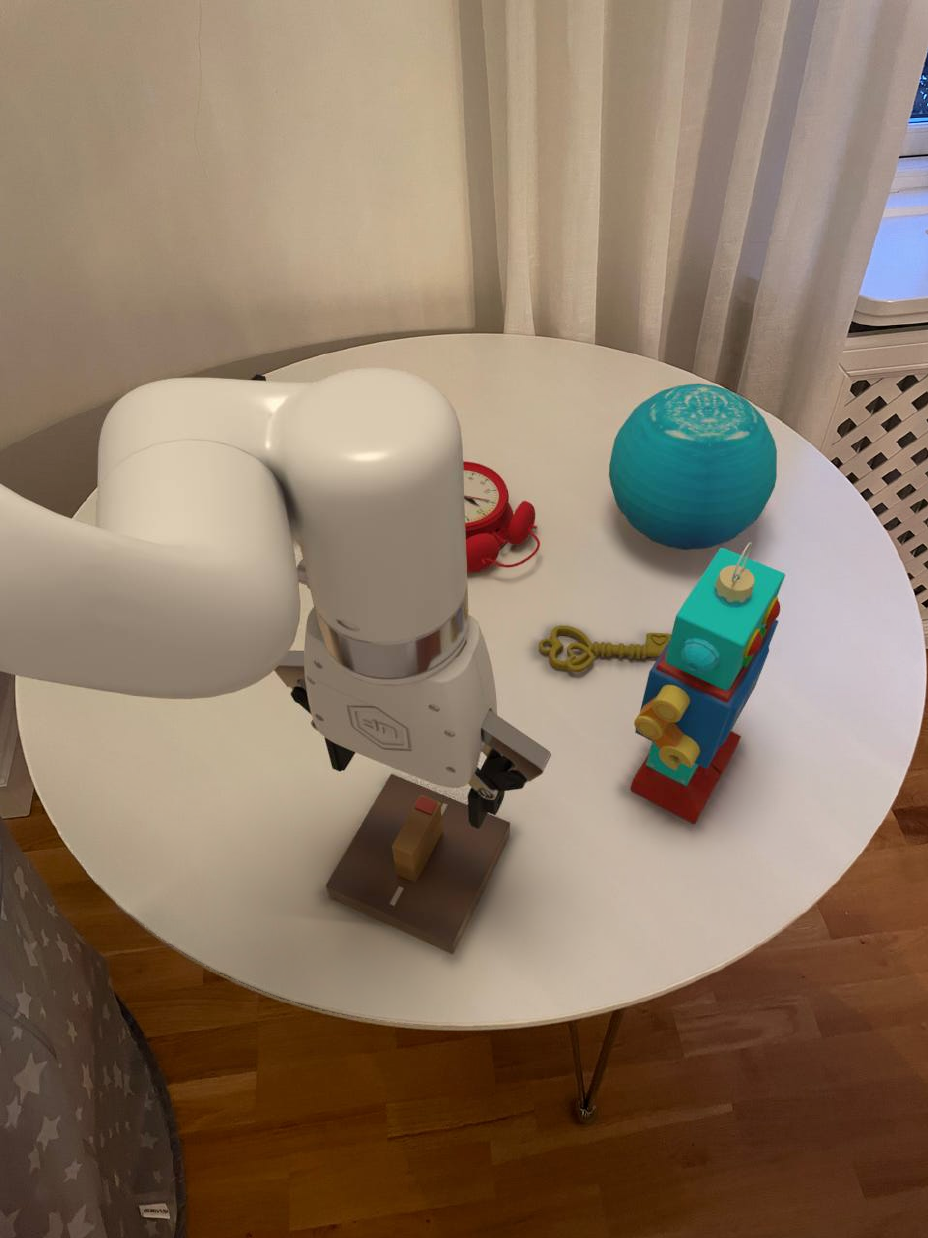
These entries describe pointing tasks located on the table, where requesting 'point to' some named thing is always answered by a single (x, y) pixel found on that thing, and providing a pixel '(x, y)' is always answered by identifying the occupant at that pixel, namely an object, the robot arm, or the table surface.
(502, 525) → the alarm clock
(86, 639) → the robot arm
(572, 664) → the key
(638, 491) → the decorative orb
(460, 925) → the plate
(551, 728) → the table surface
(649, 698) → the toy robot
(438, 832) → the thumbturn
